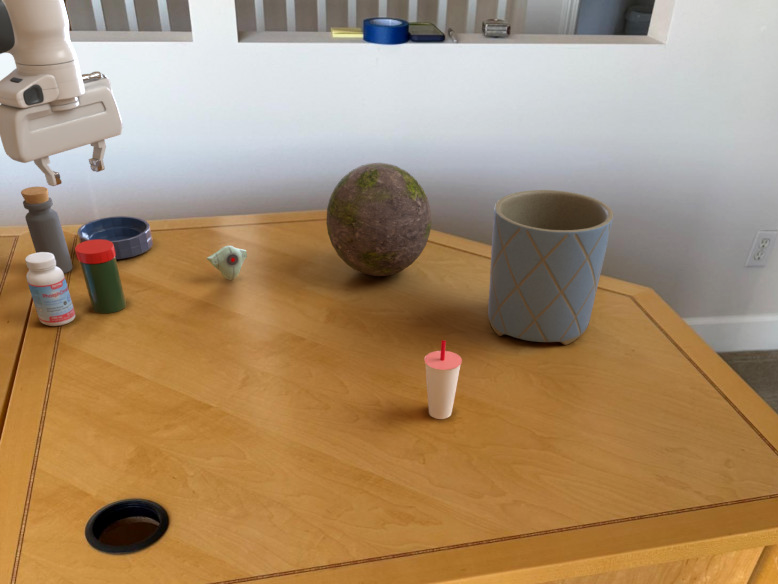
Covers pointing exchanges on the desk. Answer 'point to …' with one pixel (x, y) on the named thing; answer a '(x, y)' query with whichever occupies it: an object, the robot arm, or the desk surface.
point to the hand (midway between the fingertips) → (77, 177)
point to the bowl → (119, 234)
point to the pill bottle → (49, 290)
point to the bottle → (45, 226)
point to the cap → (95, 251)
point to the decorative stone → (378, 219)
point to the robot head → (228, 261)
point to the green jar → (104, 286)
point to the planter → (546, 264)
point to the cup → (441, 381)
